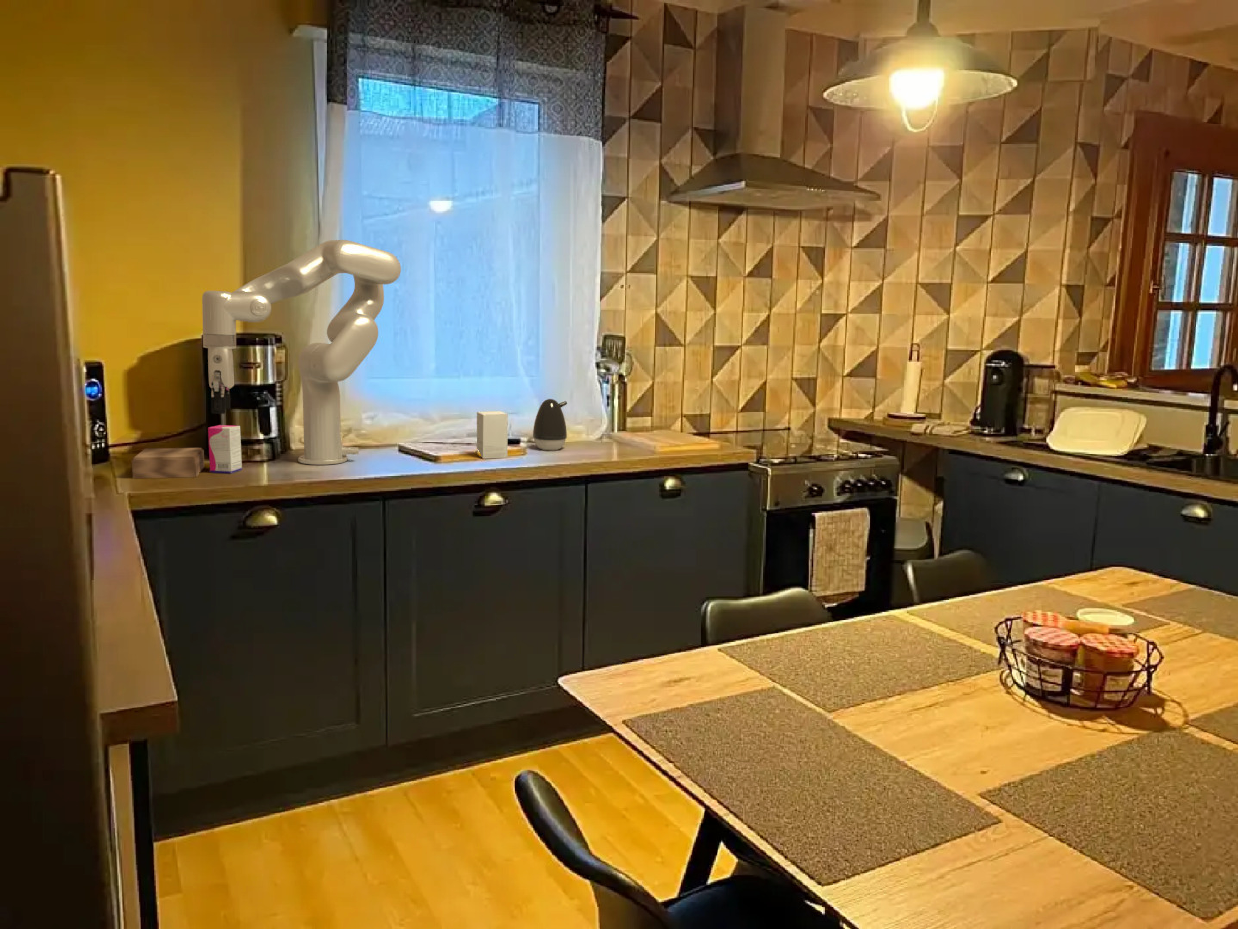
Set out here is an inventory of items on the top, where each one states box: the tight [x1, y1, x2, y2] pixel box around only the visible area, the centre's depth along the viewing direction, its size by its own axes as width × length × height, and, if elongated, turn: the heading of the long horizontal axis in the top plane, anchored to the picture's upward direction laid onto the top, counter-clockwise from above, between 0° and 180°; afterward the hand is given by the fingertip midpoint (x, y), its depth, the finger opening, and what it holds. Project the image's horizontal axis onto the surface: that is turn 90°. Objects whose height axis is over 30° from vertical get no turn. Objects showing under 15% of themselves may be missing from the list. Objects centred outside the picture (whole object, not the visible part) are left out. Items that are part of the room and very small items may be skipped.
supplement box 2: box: [476, 410, 509, 460], centre depth 274 cm, size 7×7×13 cm
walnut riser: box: [131, 447, 205, 479], centre depth 239 cm, size 14×14×5 cm
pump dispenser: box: [532, 398, 568, 452], centre depth 290 cm, size 10×10×15 cm
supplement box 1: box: [207, 424, 243, 475], centre depth 242 cm, size 6×6×12 cm
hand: (220, 411), depth 240 cm, fingers open, 9 cm apart
